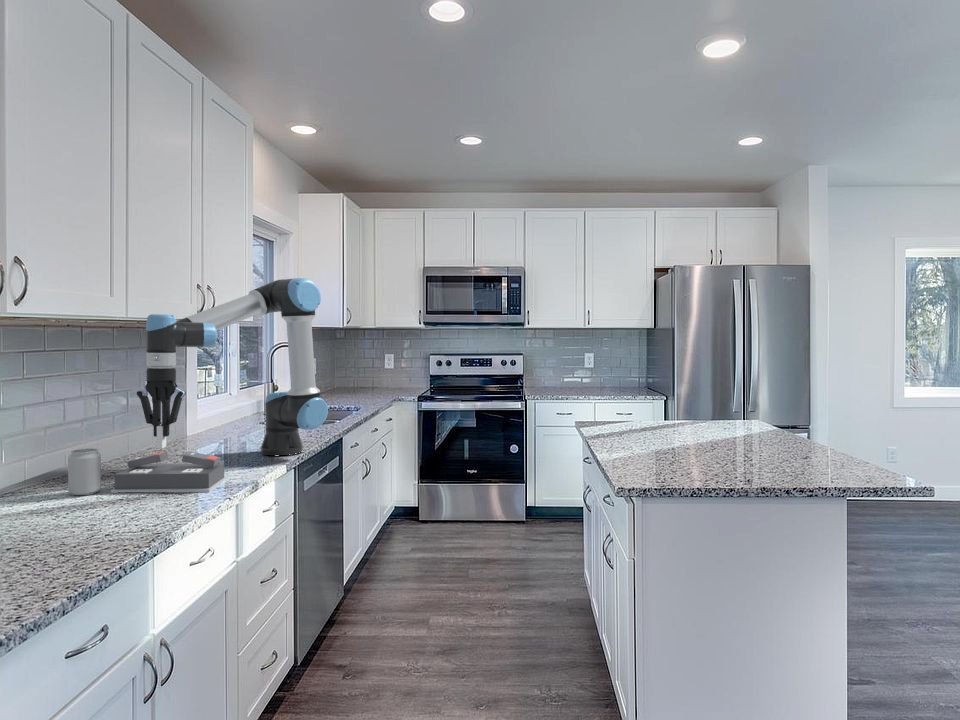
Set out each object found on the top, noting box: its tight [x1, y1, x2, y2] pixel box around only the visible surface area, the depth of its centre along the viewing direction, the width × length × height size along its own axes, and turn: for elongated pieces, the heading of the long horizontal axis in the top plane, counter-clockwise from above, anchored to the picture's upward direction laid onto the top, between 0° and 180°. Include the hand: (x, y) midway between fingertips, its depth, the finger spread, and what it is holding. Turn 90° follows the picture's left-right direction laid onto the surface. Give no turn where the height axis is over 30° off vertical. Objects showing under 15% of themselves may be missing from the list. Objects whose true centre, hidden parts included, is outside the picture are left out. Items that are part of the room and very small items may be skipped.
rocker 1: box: [126, 451, 169, 468], centre depth 168 cm, size 5×9×2 cm, turn 96°
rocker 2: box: [181, 451, 221, 468], centre depth 170 cm, size 5×9×2 cm, turn 96°
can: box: [67, 448, 102, 496], centre depth 158 cm, size 8×8×12 cm
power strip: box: [110, 463, 228, 494], centre depth 167 cm, size 15×26×5 cm, turn 96°
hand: (161, 447), depth 168 cm, fingers closed
